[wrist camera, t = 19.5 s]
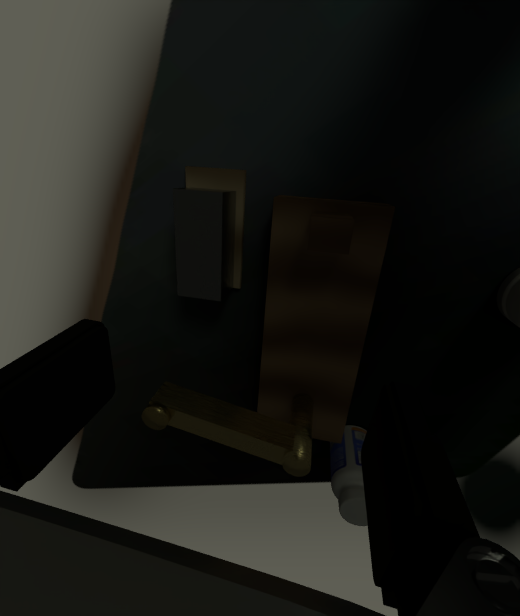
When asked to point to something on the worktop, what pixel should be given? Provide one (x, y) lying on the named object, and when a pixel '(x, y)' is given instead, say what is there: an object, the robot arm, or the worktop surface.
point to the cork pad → (236, 182)
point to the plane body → (319, 304)
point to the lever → (237, 425)
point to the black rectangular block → (204, 241)
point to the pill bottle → (349, 475)
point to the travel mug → (510, 297)
